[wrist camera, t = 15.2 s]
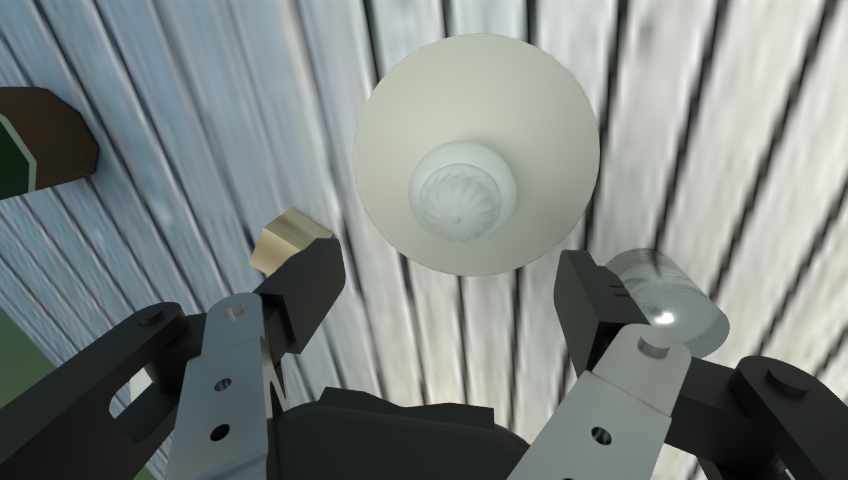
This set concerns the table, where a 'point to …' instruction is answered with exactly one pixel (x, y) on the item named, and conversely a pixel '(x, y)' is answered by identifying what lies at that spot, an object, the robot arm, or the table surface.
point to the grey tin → (671, 300)
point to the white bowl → (487, 124)
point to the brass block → (285, 239)
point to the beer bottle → (41, 142)
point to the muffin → (462, 192)
